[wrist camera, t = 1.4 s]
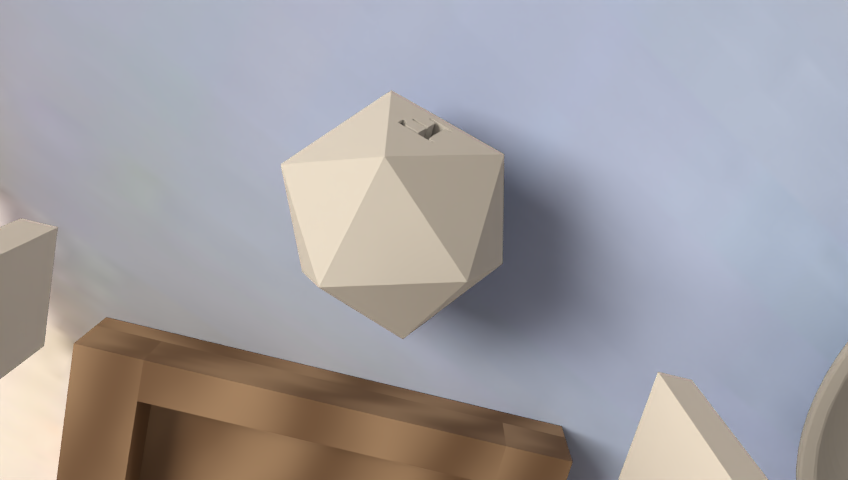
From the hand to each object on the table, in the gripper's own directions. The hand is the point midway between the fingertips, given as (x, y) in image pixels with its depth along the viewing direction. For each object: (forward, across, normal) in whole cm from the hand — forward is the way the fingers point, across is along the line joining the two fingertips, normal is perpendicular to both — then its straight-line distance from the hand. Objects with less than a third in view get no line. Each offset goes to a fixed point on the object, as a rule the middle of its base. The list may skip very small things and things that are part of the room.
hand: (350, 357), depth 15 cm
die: (+17, 0, 0) cm, 17 cm away
